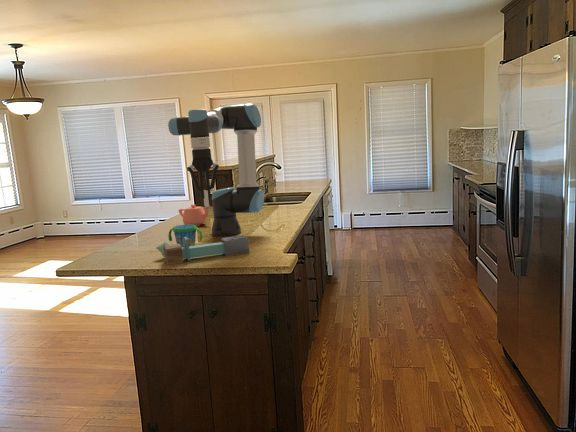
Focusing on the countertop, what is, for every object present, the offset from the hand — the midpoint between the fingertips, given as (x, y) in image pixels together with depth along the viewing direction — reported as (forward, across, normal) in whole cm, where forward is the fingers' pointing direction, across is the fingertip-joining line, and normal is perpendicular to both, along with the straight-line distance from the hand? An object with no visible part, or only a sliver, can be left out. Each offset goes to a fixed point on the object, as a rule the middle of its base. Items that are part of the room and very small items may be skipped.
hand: (206, 206), depth 190 cm
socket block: (+21, -16, -3) cm, 26 cm away
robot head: (+21, -18, +6) cm, 28 cm away
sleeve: (+21, +10, -2) cm, 23 cm away
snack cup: (+21, -8, +20) cm, 30 cm away
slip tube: (+21, -4, -2) cm, 21 cm away
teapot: (+22, +6, +79) cm, 82 cm away
